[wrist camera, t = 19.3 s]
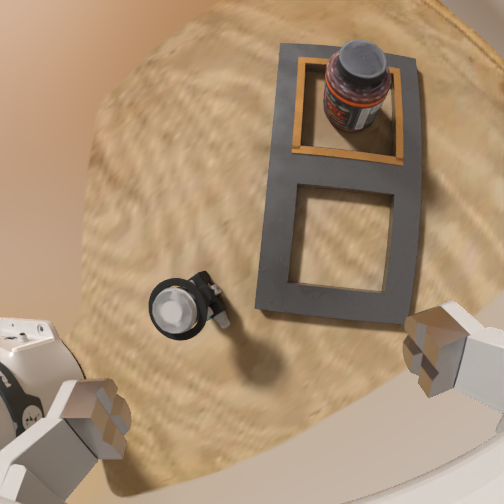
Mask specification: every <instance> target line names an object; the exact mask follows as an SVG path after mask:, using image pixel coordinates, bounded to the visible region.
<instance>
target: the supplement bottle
mask: <svg viewBox="0 0 504 504" xmlns="http://www.w3.org/2000/svg"><path fill="white" fill-rule="evenodd" d="M390 86H391V73H390V70H389V68H388V66H387V59H386V56H385V54H384V52H383V51H382V50H381V49H380V48H379V47H378V46H376V45H375V44H373V43H371V42H369V41H365V40H352V41H349V42H347V43H345V44H344V45H343V46H342V47H341V49H340V50H339V51H337V52H336V53H335V54H333V56H332V57H331V58H330V59H329V61H328V63H327V66H326V73H325V89H324V100H323V102H324V111H325V114H326V116H327V118H328V119H329V121H330V122H331V123H332V124H333V125H335V126H336V127H337V128H339V129H341V130H345V131H347V132H357V131H361V130H364V129H366V128H367V127H369V126H370V125H371V124H372V122H373V121H374V119H375V117H376V115H377V113H378V112H379V110H380V107H381V106H382V104H383V101H384V100H385V98H386V96H387V93H388V91H389V89H390Z"/></svg>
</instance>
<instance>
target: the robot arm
mask: <svg viewBox="0 0 504 504" xmlns="http://www.w3.org/2000/svg"><path fill="white" fill-rule="evenodd" d="M404 330H405V331H406V332H407V333H408V335H407V337H406V338H405V340H404V341H403V356H404V361H405V363H406V365H407V367H408V369H409V370H410V372H411V373H414V374H416V375H419V380H418V384H419V385H420V386H421V388H422V389H423V391H424V392H425V394H426V395H427V397H428V398H430V397H433V396H435V395H438V394H440V393H443V392H445V391H447V390H449V389H452V388H454V389H455V390H457V391H458V392H461V393H462V394H465V395H466V396H469V397H470V398H473V399H474V400H476V401H478V402H480V403H482V404H484V405H486V406H488V407H490V408H492V409H494V410H496V411H498V412H500V413H502V414H503V416H502V418H501V420H500V422H499V424H498V425H497V428H496V433H497V435H496V436H494V437H492V438H491V439H489V440H488V441H486V442H484V443H483V444H481V445H479V446H478V447H476V448H474V449H472V450H471V451H469V452H467V453H465V454H463V455H461V456H460V457H458V458H456V459H454V460H452V461H450V462H448V463H446V464H444V465H442V466H440V467H438V468H436V469H434V470H431V471H430V472H427V473H425V474H423V475H420V476H418V477H416V478H413V479H411V480H409V481H406V482H404V483H401V484H399V485H396V486H394V487H391V488H388V489H386V490H383V491H380V492H377V493H374V494H371V495H368V496H365V497H362V498H360V499H356V500H353V501H349V502H346V503H342V504H504V330H500V329H496V328H492V327H487V328H484V327H483V326H482V325H481V324H480V323H479V322H477V320H475V319H474V318H473V317H472V316H471V315H470V314H469V313H468V312H467V311H465V310H464V309H463V308H462V307H461V306H460V305H459V304H457V303H456V302H455V301H451V300H450V301H448V302H445V303H443V304H440V305H438V306H436V307H433V308H430V309H428V310H425V311H422V312H419V313H416V314H413V315H410V316H407V318H406V320H405V326H404ZM117 390H118V387H117V386H116V384H115V383H114V381H113V380H112V379H109V378H100V379H84V377H83V374H82V372H81V369H80V367H79V365H78V364H77V362H76V360H75V358H74V357H73V355H72V354H71V353H70V351H69V350H68V349H67V348H66V346H65V345H64V344H63V343H62V341H61V340H60V338H59V336H58V333H57V331H56V329H55V327H54V325H53V323H52V322H51V321H49V320H34V319H21V318H7V317H2V318H0V504H67V503H66V502H64V501H65V500H66V499H67V498H68V497H69V495H70V494H71V493H72V492H73V491H74V489H75V488H76V487H77V486H78V485H79V483H80V482H81V481H82V480H83V479H84V477H85V476H86V475H87V474H88V472H89V471H90V470H91V469H92V468H93V466H94V465H95V464H96V463H97V462H98V459H123V457H124V453H125V448H126V444H127V440H126V439H125V437H124V435H125V434H126V433H127V432H128V431H129V430H130V426H131V412H130V409H129V406H128V404H127V402H126V401H125V399H124V398H122V397H121V396H119V395H118V394H117Z"/></svg>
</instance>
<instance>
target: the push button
mask: <svg viewBox="0 0 504 504" xmlns="http://www.w3.org/2000/svg"><path fill="white" fill-rule="evenodd" d="M209 279H210V276H209V275H208V273H207V272H206V271H202V272H199V273H197V274H196V275H194V276H193V277H191V278H190V279H188V280H185V279H181V278H172V279H167V280H165V281H163V282H161V283H159V284H158V285H157V286H156V287H155V288H154V290H153V291H152V293H151V296H150V299H149V314H150V317H151V320H152V322H153V324H154V326H155V327H156V328H157V330H158V331H159V332H161V333H162V334H163V335H164V336H166V337H168V338H170V339H173V340H187V339H190V338H192V337H194V336H196V335H197V334H198V333H199V332H200V331H201V330H202V329H203V327H204V325H205V323H206V321H208V320H210V319H211V318H214V319H215V321H216V322H218V323H219V325H220V326H221V328H222V329H225V328H226V327H228V326H229V325H230V324H231V323H230V322H229V320H228V319H227V317H226V313H225V312H224V310H225V309H226V306H225V305H224V303H223V302H222V301H221V299H220V298H219V296H218V295H217V294H219V293H221V290H220V288H219V287H218V285H217V284H214V285H211V284H210V282H209ZM174 285H175V286H180V287H177V288H175V287H171V286H174ZM170 287H171V288H170ZM217 288H218V289H219V290H218V289H217ZM225 320H226V321H227V322H226V321H225ZM196 322H197V324H196V326H195V327H194V328H192V329H190V328H191V327H192V326H193V325H194V324H195V323H196ZM222 324H223V325H224V326H223V325H222Z"/></svg>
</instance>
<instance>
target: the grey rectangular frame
mask: <svg viewBox="0 0 504 504" xmlns="http://www.w3.org/2000/svg"><path fill="white" fill-rule="evenodd" d="M340 49H341V47H336V46H325V45H311V44H290V43H280V53H279V64H278V75H277V86H276V97H275V108H274V119H273V129H272V140H271V150H270V161H269V171H268V181H267V191H266V201H265V212H264V222H263V231H262V241H261V251H260V261H259V271H258V280H257V290H256V299H255V309H261V310H269V311H276V312H284V313H293V314H301V315H310V316H319V317H328V318H337V319H347V320H358V321H369V322H380V323H393V324H405V320H406V318H407V316H408V315H409V309H410V303H411V297H412V290H413V283H414V276H415V268H416V259H417V249H418V239H419V226H420V211H421V188H422V134H421V112H420V97H419V86H418V75H417V66H416V59H414V58H409V57H404V56H399V55H394V54H388V53H384V54H385V56H386V59H387V66H388V68H389V70H390V73H391V96H392V156H388V155H381V154H374V153H367V152H359V151H351V150H342V149H333V148H323V147H312V146H301V140H302V126H303V111H304V94H305V77H306V71H317V72H326V66H327V63H328V61H329V59H330V58H331V57H332V56H333V54H335V53H336V52H337V51H339V50H340ZM298 186H305V187H315V188H325V189H334V190H343V191H352V192H360V193H368V194H376V195H384V196H391V204H390V219H389V231H388V242H387V252H386V261H385V270H384V278H383V285H382V291H372V290H362V289H353V288H343V287H334V286H324V285H315V284H306V283H297V282H289V281H288V279H289V270H290V261H291V252H292V242H293V232H294V222H295V211H296V201H297V189H298Z"/></svg>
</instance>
